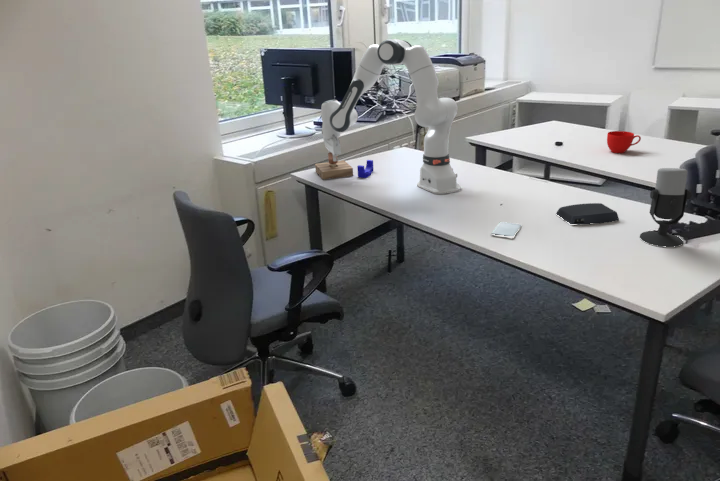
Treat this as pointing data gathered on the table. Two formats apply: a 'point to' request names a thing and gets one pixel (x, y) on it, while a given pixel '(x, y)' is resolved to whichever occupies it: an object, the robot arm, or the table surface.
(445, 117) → the robot arm
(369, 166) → the cable clip
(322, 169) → the board
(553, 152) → the table surface
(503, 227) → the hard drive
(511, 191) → the table surface
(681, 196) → the microphone
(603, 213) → the external hard drive
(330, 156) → the peg
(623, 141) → the ceramic cup
